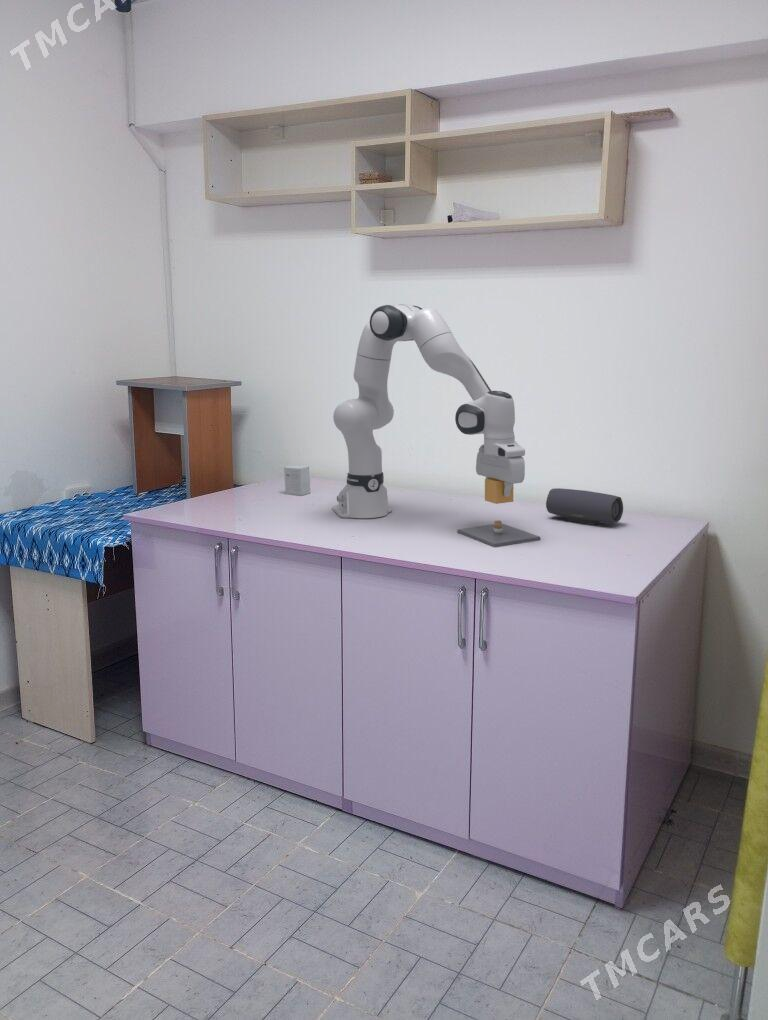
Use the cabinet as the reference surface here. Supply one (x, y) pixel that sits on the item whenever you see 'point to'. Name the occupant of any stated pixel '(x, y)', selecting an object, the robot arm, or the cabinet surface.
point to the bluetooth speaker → (584, 506)
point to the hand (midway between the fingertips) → (499, 494)
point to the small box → (297, 480)
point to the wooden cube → (496, 491)
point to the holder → (498, 534)
